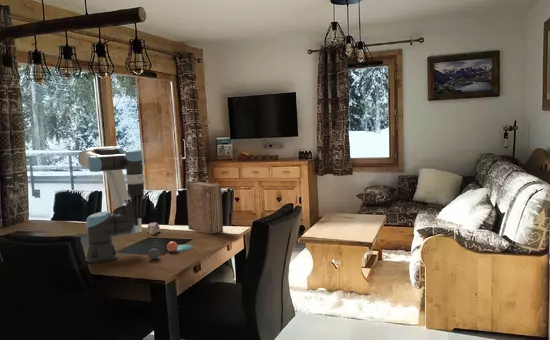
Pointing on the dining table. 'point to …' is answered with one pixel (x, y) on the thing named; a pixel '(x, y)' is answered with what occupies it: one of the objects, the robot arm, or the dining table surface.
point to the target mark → (184, 248)
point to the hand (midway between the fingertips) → (138, 231)
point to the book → (204, 207)
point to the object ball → (172, 246)
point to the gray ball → (154, 253)
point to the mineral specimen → (153, 228)
